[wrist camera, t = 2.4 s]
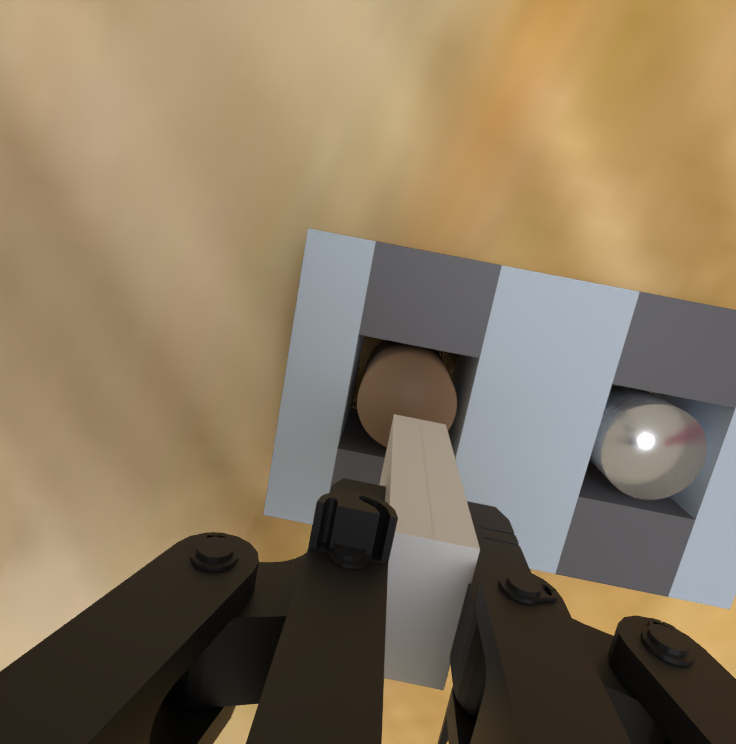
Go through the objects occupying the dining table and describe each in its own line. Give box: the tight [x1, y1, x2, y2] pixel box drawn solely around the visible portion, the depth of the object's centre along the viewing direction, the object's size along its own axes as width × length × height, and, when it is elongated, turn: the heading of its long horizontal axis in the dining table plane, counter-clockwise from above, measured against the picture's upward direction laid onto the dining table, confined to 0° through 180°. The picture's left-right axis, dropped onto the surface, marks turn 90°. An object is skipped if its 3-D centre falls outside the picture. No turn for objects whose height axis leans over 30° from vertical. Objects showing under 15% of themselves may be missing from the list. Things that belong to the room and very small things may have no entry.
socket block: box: [263, 228, 736, 609], centre depth 24 cm, size 20×12×6 cm, turn 79°
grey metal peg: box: [590, 384, 707, 500], centre depth 24 cm, size 4×4×6 cm
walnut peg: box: [357, 340, 457, 447], centre depth 24 cm, size 4×4×6 cm
